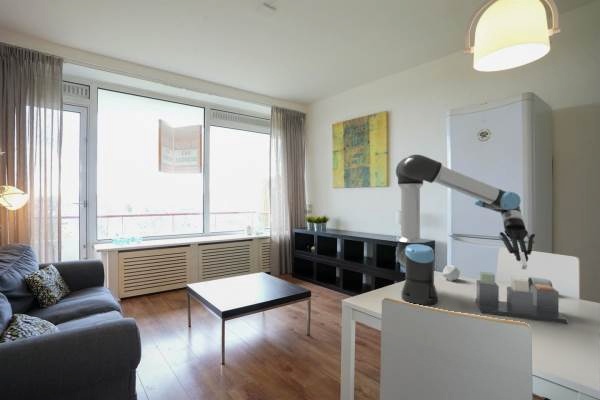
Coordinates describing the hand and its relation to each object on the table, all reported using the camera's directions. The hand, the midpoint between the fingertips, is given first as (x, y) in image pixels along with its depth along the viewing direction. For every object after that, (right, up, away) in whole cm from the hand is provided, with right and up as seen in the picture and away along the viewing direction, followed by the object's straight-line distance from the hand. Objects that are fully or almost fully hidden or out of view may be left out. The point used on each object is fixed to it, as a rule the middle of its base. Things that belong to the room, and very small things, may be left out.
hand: (524, 267), depth 117 cm
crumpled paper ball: (-7, -17, +43) cm, 47 cm away
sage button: (-12, -12, +4) cm, 18 cm away
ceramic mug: (+23, -17, +22) cm, 36 cm away
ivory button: (-5, -12, -5) cm, 14 cm away
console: (-4, -17, -2) cm, 18 cm away
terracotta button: (+6, -15, -3) cm, 16 cm away
